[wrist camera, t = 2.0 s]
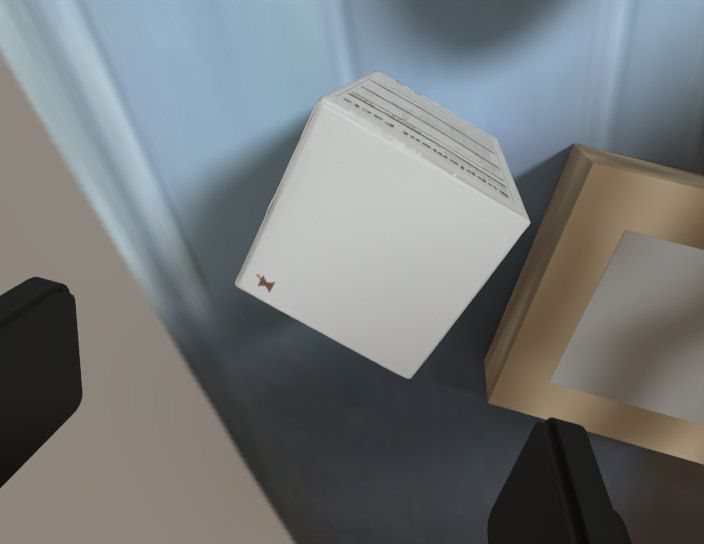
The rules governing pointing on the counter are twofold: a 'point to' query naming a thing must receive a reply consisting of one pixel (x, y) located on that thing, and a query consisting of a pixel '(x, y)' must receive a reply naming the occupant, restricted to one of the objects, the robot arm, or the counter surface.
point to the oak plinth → (611, 307)
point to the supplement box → (385, 222)
